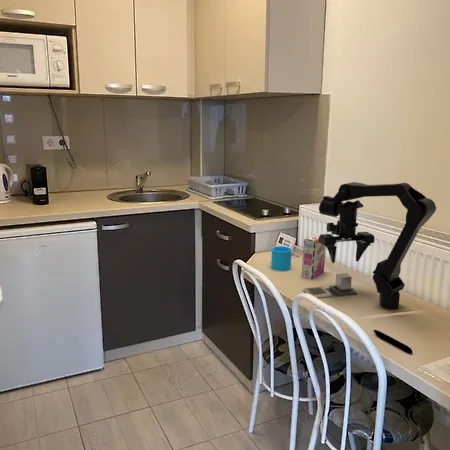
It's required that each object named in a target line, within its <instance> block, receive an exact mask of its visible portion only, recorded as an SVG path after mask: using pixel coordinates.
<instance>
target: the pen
mask: <svg viewBox="0 0 450 450" xmlns="http://www.w3.org/2000/svg"><path fill="white" fill-rule="evenodd" d="M372 330H373V332H374V334H375V336H377V337H378V338H379V339H380V340H382V341H384V342H386V343H387V342H388V343H387V344H389V343H390V344H389V345H391V344H392V346H393V347H395V348H397V349H398V348H399V349H398V350H400V349H401V350H400V351H402V350H403V351H402V352H404V351H405V352H404V353H406V352H407V353H406V354H408V353H409V355H410V354H413V350H412V347H410V346H408V345H406V344H405V343H403V342H401V341H399V340H398V339H395V338H394V337H391V336H390V335H388V334H386V333H384V332H382V331H380V330H377V329H372Z"/></svg>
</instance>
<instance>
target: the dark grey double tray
mask: <svg viewBox="0 0 450 450" xmlns="http://www.w3.org/2000/svg"><path fill="white" fill-rule="evenodd" d="M301 291H302V293H304V294H305V293H308V294H311V295H313V296H315V297H317V299H324V298H325V299H328V298H338V297H339V298H340V297H347V296H358V295H359V294H358V291H357V290H355V289H354V288H353V287H351V291H347V292H339V291H337V290H336V289H335V285H329V287H328V288H327V287H326V288H324V287H323V286H314V287H312V286H311V287H304V288H303V289H302V290H301Z"/></svg>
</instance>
